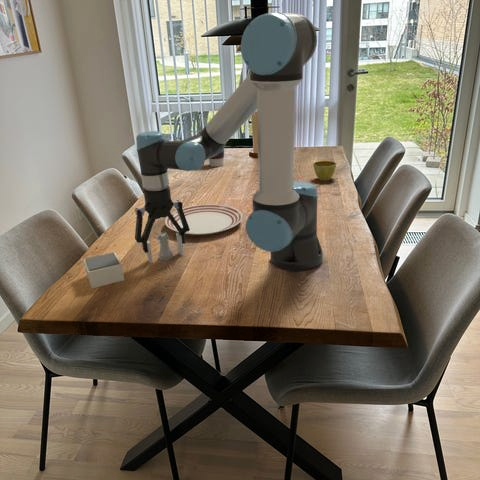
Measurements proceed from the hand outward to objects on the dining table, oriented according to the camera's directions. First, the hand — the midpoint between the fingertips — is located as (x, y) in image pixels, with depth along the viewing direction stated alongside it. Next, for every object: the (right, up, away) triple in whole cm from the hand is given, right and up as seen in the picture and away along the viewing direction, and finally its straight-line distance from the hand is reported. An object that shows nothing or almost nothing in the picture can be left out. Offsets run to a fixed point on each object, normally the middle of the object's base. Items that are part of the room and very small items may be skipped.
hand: (165, 257), depth 141 cm
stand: (-16, -5, -10) cm, 19 cm away
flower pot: (+61, +32, +66) cm, 95 cm away
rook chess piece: (0, 0, 0) cm, 0 cm away
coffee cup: (+11, +44, +99) cm, 109 cm away
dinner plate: (+10, +10, +23) cm, 28 cm away
